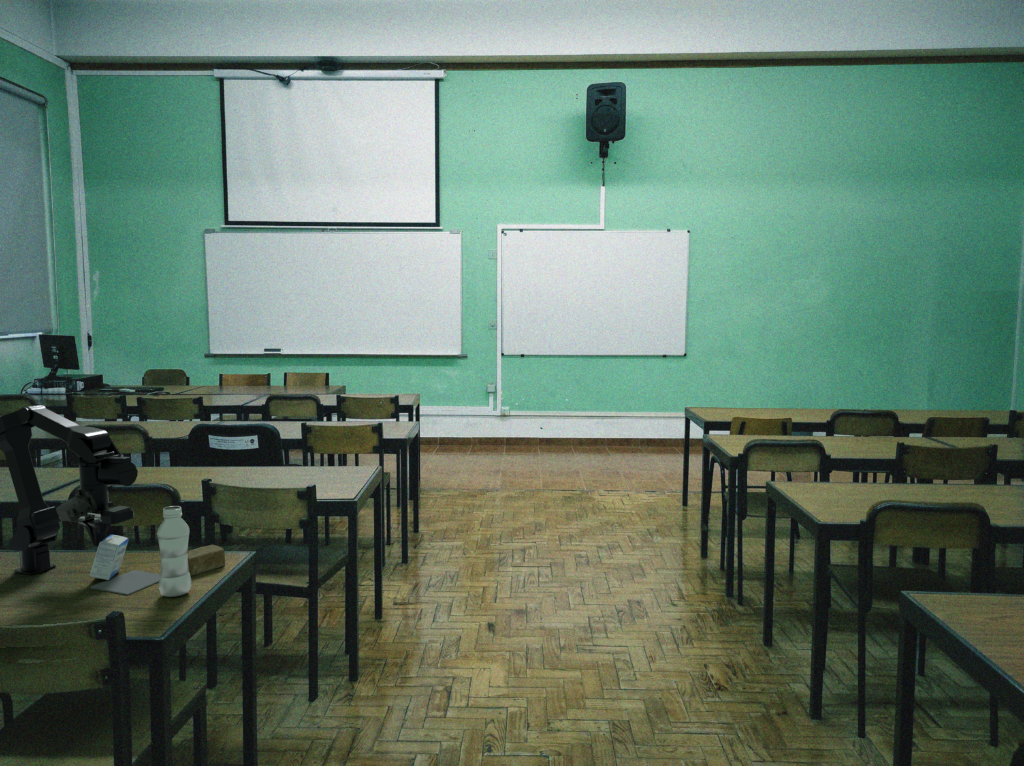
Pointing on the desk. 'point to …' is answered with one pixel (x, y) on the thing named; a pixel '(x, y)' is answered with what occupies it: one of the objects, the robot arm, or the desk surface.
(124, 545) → the medicine box
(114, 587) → the mat
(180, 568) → the plastic bottle
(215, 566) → the stone block
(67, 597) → the desk surface
